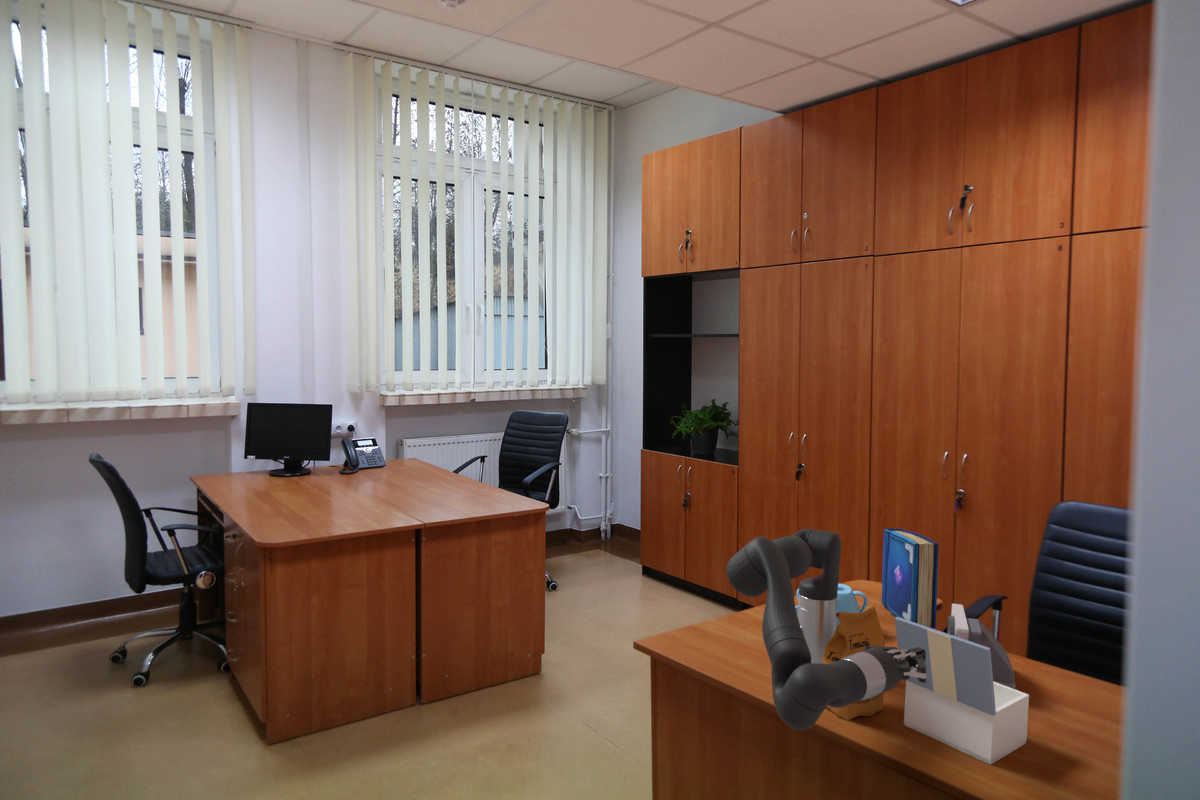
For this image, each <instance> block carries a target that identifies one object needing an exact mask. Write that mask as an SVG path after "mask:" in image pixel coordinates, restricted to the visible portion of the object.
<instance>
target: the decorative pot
mask: <svg viewBox="0 0 1200 800" xmlns="http://www.w3.org/2000/svg"><path fill="white" fill-rule="evenodd" d="M795 595H796V599H797V601H798V598H799V588H797V590H796V593H795ZM856 596H859V597H862V598H863V603H862V606H861V609H860V608H859V607H860V606H859V603H858V601H857V597H856ZM868 599H869V598H868V596H867V595H866V594H865V593H864V592H862V591H860V590H853V589H852V587H851V586H849V585H847V584H843V583H839V582H838V592H837V612H849V613H862V612H863V611H864V610H865V609H866V608H867V607H868V601H869V600H868ZM795 607H796V613H797V616H798V605H795ZM837 625H839V618H837V617H836V628H837Z"/></svg>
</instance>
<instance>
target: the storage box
mask: <svg viewBox="0 0 1200 800" xmlns="http://www.w3.org/2000/svg"><path fill="white" fill-rule="evenodd" d="M993 685H994V696H995V708H996V714H995V715H994V716H993V715H990V714H988V713H985V712H983V711H980V710H978V709H975V708H973V707H970V706H968V705H966V704H963V703H961V702H958V701H955V700H952V699H950V698H948V697H945V696H943V695H940V694H938V693H935V692H934V691H931V690H929V689H926V688H924V687H921V686H919V685H917V684H914V683H912V682H909V681H907V680H905V695H904V696H905V697H904V699H905V700H904V715H903V716H904V717H903V725H904V726H905V727H907V728H910V729H912V730H915V731H916V732H918V733H920V734H923V735H926V737H929V738H932V739H934V740H936V741H937V742H939V743H940V742H941V743H943V744H944V745H947V746H949V747H951V748H952V749H955V750H957V751H960V752H962V753H964V754H965V755H968V756H971V757H972V758H975V759H977V760H978V761H981V762H984V763H985V764H987V765H989V766H990V765H992V764H994V763H996V762H997V761H999V760H1001V759H1002V758H1004V757H1006V756H1008V755H1009V754H1010V753H1012V752H1014V751H1015V750H1017V749H1019V748H1021V747H1022V746H1024V745H1026V744H1027V735H1028V721H1029V720H1028V719H1029V703H1030V701H1029V700H1030V694H1028V693H1026V692H1022V691H1020V690H1019V689H1018V690H1015V689H1012V688H1010V687H1007V686H1004V685H1001V684H999V683H996V682H993Z"/></svg>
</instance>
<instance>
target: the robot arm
mask: <svg viewBox="0 0 1200 800" xmlns="http://www.w3.org/2000/svg"><path fill="white" fill-rule="evenodd" d="M841 554H842V542H841V537H840V535H839V533H836V532H833V531H826V530H820V529H819V530H818V529H813V528H803V529H799V531H796V532H795V533H794V534H791V535H788V536H782V537H778V538H776V539H774V540H771V539H769V538H768V537H765V536H761V535H760V536H757V537H755V538H753V539H751V541H749V542H747V544H745V545H744V546H743V547H742V548H741V549H740V550H738V551H737V552H736V553H735V554H734V555H732V557H731V558H730V559H729V561H728V562H727V565H726V569H725V572H726V577H727V580H728V582H729V583H730V585H731V587H732V588H734V590H735V591H737V592H738V593H740V594H741V595H743V596H745V597H749V598H756V597H760V596H762V595H763V594H764V593H766V592H767V593H766V600H765V606H764V610H763V615H762V616H763V617H762V624H761V627H762V629H761V632H762V639H763V643H764V646H765V650H766V653H767V657H768V658H769V661H770V664H771V686H772V687H771V688H772V699H773V704H774V707H775V709H776V712H777V714H778V716H779V718H780V719H781V720H782V722H783V723H784V724H786V726H788V727H789V728H791V729H794V730H797V731H806V730H807V731H808V730H809V729H811V728H812V727H814V725H815V724H816V723H817V721H818V720H819V719H820V717H821V715H822V714H823V713H824V711H825V710H826V707H827V705H829V706H831V707H835V708H838V707H844V706H848V705H850V704H853V703H855V702H858V701H860V700H866V699H869V698H872V697H874V696H877V695H879V694H882V693H884V694H885V693H887V692H889V691H891V690H893V689H894V688H895V687H896V686H897V685H898V684H899V682H900V681H906V680H907V679H909V678H910V676H911V677H915V678H916V679H918V681H919V682H922V683H925V682H926V669H927V668H926V665H925V662H924V661H925V660H926V652H925V650H924V649H922V648H919V647H916V648H912V649H909V650H905V649H901V650H898V647H895V646H885V647H884V646H865V650H863V651H860V652H858V653H855V654H852V655H849V656H847V657H845V658H843V659H842V660H839V661H836V662H833V663H830V664H823V655H824V651H825V648H826V646H827V644H828V642H829V640H830V639H831V638H832V636H833V635H834V633H835V630H836V614H837V592H838V583H839V578H840V563H841ZM810 568H814V569H820V570H822V574H821V575H818V576H813V577H807V578H804V579H802V580H801V581H800V582H799V584H798V589H799V598H798V600H797V604H798V609H797V610H798V615H797V613H796V603H795V596H794V589H793V584H792V580H794V579H797V578H799V577H801V576H803V575H804V574H806V573H807V572H808V571H809V569H810ZM911 669H912V670H911Z"/></svg>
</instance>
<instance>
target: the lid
mask: <svg viewBox="0 0 1200 800" xmlns="http://www.w3.org/2000/svg"><path fill="white" fill-rule="evenodd" d="M894 623H895V624H894V625H895V631H896V632H895V634H896V640H897V650H901V649H905V650H909V649H912V648H916V647H919V648H922V649H924V650H925V652H926V660H925V661H924V662H925V665H926V668H927V669H926V682H925V683H922V682H919V681H918V679H916V678H915V677H911V676H910V678H909V679H907V681H909V682H912V683H914V684H917V685H919V686H921V687H924V688H926V689H929V690H931V691H934V692H935V693H938V694H940V695H943V696H945V697H948V698H950V699H952V700H955V701H958V702H961V703H963V704H966V705H968V706H970V707H973V708H975V709H978V710H980V711H983V712H985V713H988V714H990V715H993V716H994V715H995V714H996V708H995V696H994V685H993V674H992V663H991V652H990V648H988V647H985V646H982V645H980V644H977V643H974V642H971V641H968V640H965V639H962V638H959V637H956V636H953V635H950V634H947V633H946V632H944V631H941V630H937V629H936V628H935V629H932V628H929V627H926V626H923V625H920V624H917V623H914V622H911V621H908V620H905V619H902V618H899V617H895V618H894ZM911 670H912V669H911Z"/></svg>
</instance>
